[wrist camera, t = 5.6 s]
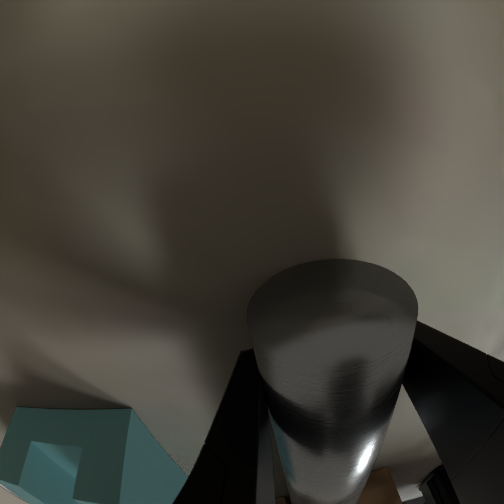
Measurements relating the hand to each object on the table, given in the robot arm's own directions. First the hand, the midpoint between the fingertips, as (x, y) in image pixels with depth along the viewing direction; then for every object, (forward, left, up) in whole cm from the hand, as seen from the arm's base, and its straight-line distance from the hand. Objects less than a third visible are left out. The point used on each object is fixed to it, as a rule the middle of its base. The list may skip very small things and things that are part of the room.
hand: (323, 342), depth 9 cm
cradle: (+11, +9, -1) cm, 14 cm away
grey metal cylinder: (0, +7, +1) cm, 7 cm away
